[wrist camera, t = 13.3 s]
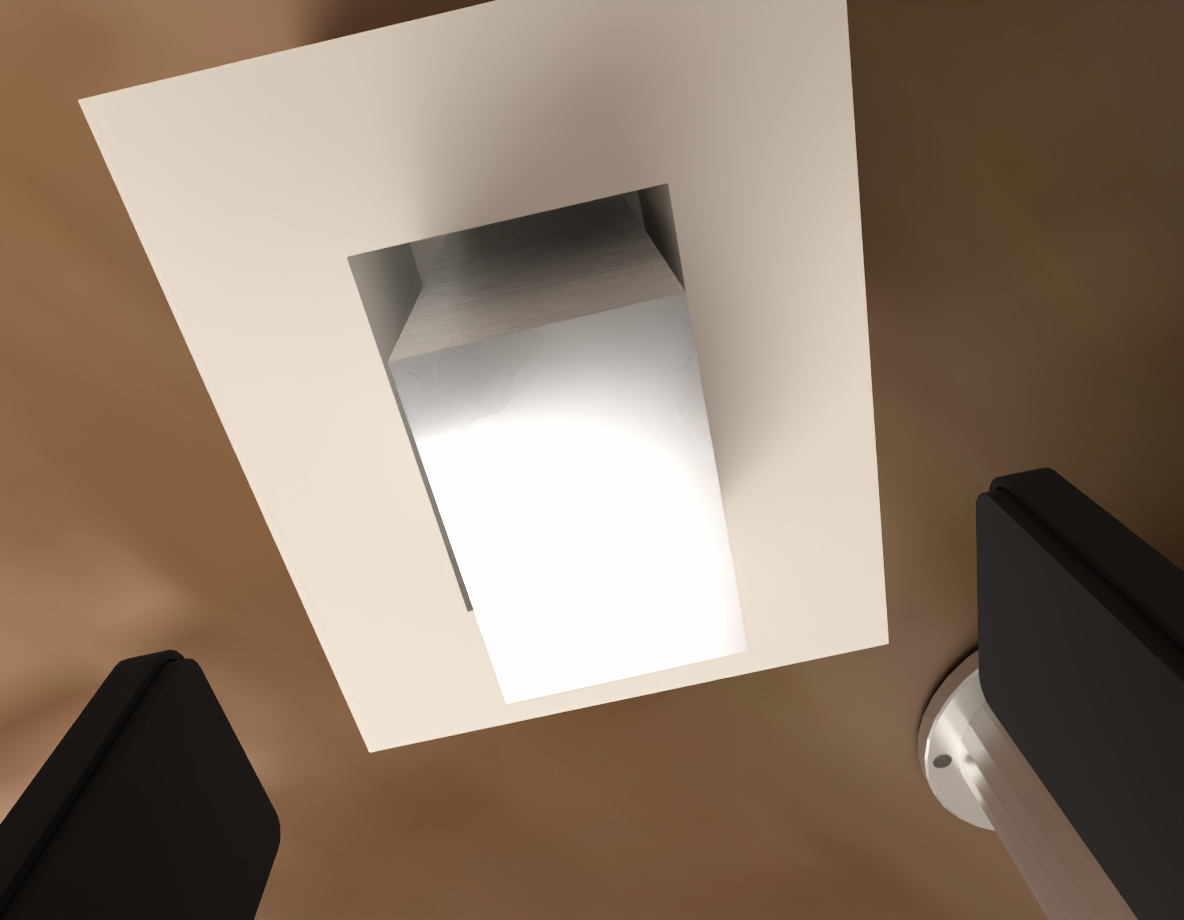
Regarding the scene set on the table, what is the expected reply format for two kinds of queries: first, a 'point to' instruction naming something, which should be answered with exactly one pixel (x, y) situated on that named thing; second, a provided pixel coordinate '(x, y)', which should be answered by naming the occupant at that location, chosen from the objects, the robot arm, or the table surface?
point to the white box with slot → (493, 194)
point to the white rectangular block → (571, 449)
